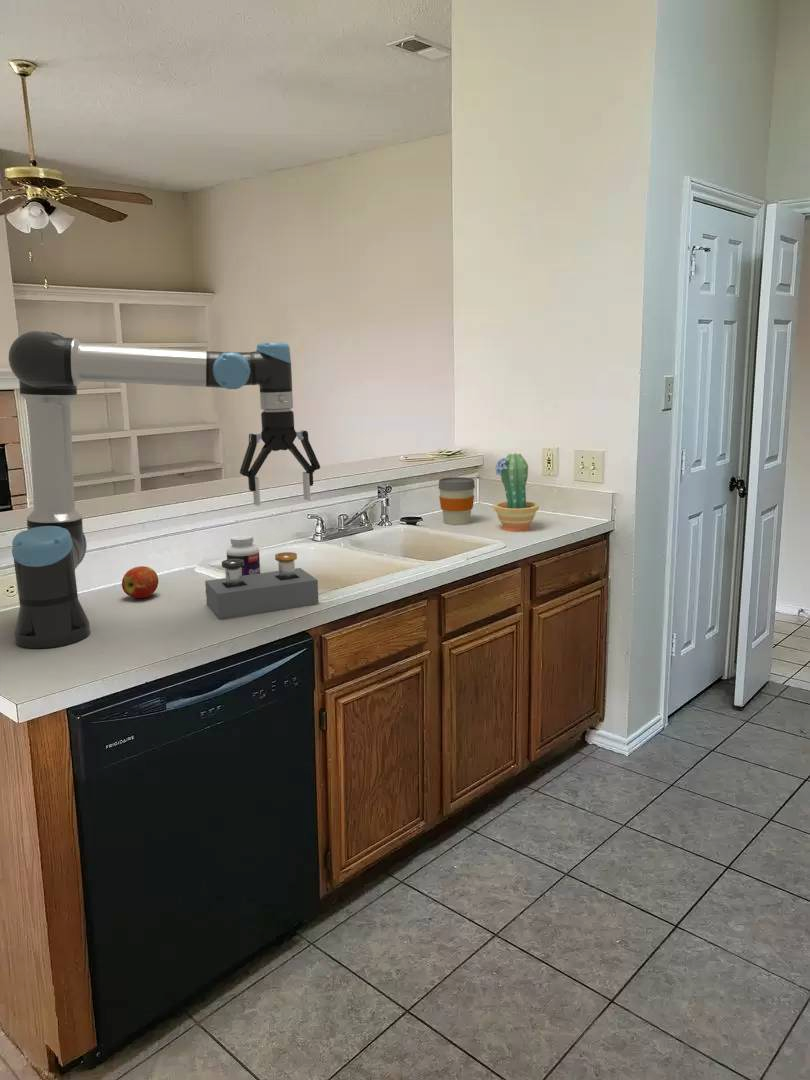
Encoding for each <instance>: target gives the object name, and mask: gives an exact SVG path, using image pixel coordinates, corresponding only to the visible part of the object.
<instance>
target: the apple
mask: <svg viewBox="0 0 810 1080" xmlns="http://www.w3.org/2000/svg"><path fill="white" fill-rule="evenodd" d="M158 586H159V576H158V574H157V573H156V571H155V570H154V569H152V567H149V566H144V565H143V566H135V567H132V568H130V569H129V570H127V571H126V573H125V574H124V575H123V578H122V580H121V587H122V590H123V592H124V593H125V594H126V595H127V596H129V597H132V598H135V599H145V598H148V597H150V596H152V595H153V594H154V593H155V592H156V590H157V588H158Z"/></svg>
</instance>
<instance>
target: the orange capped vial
mask: <svg viewBox="0 0 810 1080" xmlns="http://www.w3.org/2000/svg"><path fill="white" fill-rule="evenodd" d="M297 559H298V554H297V553H296V552H294V551H293V552H291V551H286V552H279V553H275V555H274V560H275V561H277V563H278V571H279V580H280V581H281V580H288V579H295V569H296V568H295V561H296V560H297Z"/></svg>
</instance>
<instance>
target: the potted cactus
mask: <svg viewBox="0 0 810 1080" xmlns="http://www.w3.org/2000/svg"><path fill="white" fill-rule="evenodd" d="M495 472H496V476H499V477H500V480H501V482H502V484H503V487H504V493H505V498H506V501H500V502H495V503H493V509H494V512H496V514H497V518H498V521H499V522H500V523H501V525H502V530H503V531H506V532H507V531H508V532H525V531H528V530H530V527H529V526H530V525H531V523H532V522H533V520H534V518H535V516H536V513H537V511H539V507H540V506H539V503H536V502H532V501H527V496H526V494H527V492H526V490H527V489H526V485H527V481H528V477H529V465H528V462H527V460H526V459H525V458H524V456H523V455H522V454H521V453H518V454H517V453H513V454H512V453H508V454H507V456H506V457H502V458H500V459H499V460H498V461H497V462H496V465H495Z"/></svg>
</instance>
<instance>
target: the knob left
mask: <svg viewBox="0 0 810 1080" xmlns="http://www.w3.org/2000/svg"><path fill="white" fill-rule="evenodd" d="M242 566H244V560H242V559H228V560H227V559H225V560H222V561H221V568H222V569H223V568H224V575H225V578H226V588H230V587H237V586H243V583H242V568H241V567H242Z"/></svg>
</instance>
